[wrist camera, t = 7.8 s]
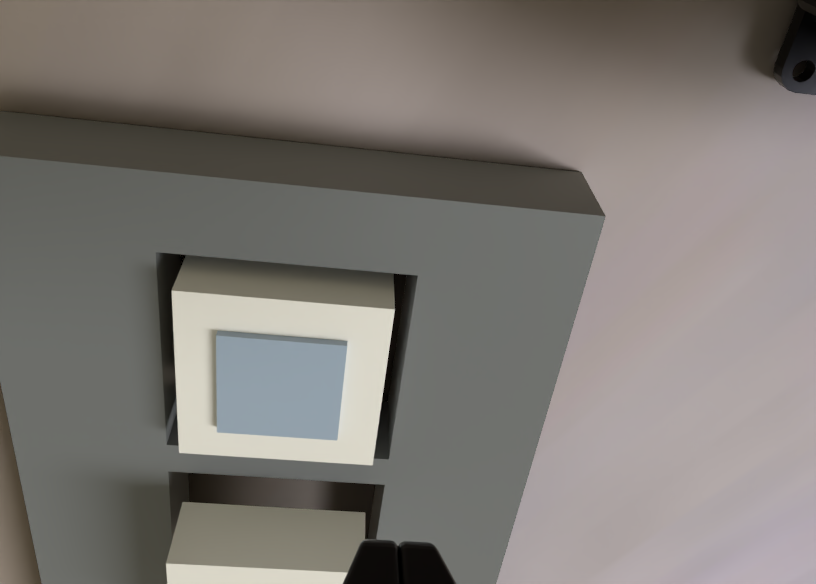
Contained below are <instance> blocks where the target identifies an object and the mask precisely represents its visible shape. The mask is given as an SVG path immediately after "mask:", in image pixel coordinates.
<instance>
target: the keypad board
mask: <svg viewBox="0 0 816 584" xmlns="http://www.w3.org/2000/svg"><path fill="white" fill-rule="evenodd" d="M604 220H605V214H604V213H603V211H602V209H601V207H600V205H599V203H598V202H597V200H596V198H595V196H594V194H593V192H592V191H591V189H590V187H589V185H588V183H587V181H586V180H585V178H584V176H583V174H582V172H575V171H565V170H556V169H546V168H537V167H527V166H518V165H508V164H499V163H489V162H480V161H470V160H461V159H451V158H442V157H433V156H423V155H414V154H404V153H395V152H385V151H376V150H366V149H357V148H347V147H338V146H328V145H319V144H309V143H300V142H290V141H281V140H271V139H262V138H252V137H243V136H233V135H224V134H214V133H205V132H195V131H186V130H176V129H167V128H157V127H148V126H138V125H129V124H119V123H110V122H100V121H91V120H81V119H72V118H62V117H53V116H43V115H34V114H24V113H15V112H5V111H0V383H1V388H2V393H3V398H4V403H5V408H6V412H7V417H8V422H9V427H10V432H11V437H12V442H13V447H14V451H15V456H16V461H17V466H18V471H19V476H20V481H21V486H22V491H23V495H24V500H25V505H26V510H27V515H28V520H29V525H30V530H31V535H32V539H33V544H34V549H35V554H36V559H37V564H38V569H39V574H40V579H41V583H42V584H167V572H166V561H167V558H168V554H169V550H170V547H171V543H172V539H173V536H174V532H175V528H176V524H177V521H178V517H179V513H180V510H181V506H182V502H189V479H188V473H202V474H218V475H234V476H251V477H267V478H283V479H299V480H315V481H331V482H347V483H363V484H375V490H374V497H373V504H372V510H371V517H370V524H369V531H368V537H367V539H376V540H391V541H394V542H395V543H396V544H397V546H398V545H399V543H401V542H403V541H412V542H429V543H432V544H433V545H435V546H436V548H437V549H438V551H439V552H440V554H441V556H442V558H443V560H444V562H445V563H446V565H447V567H448V569H449V571H450V573H451V575H452V576H453V578H454V580H455V582H456V584H496V582H497V579H498V575H499V572H500V568H501V565H502V562H503V558H504V555H505V552H506V548H507V545H508V542H509V538H510V535H511V532H512V528H513V525H514V522H515V518H516V515H517V511H518V508H519V505H520V501H521V498H522V495H523V491H524V488H525V485H526V481H527V478H528V475H529V471H530V468H531V465H532V461H533V458H534V454H535V451H536V448H537V444H538V441H539V438H540V434H541V431H542V428H543V424H544V421H545V418H546V414H547V411H548V408H549V404H550V401H551V398H552V394H553V391H554V387H555V384H556V381H557V377H558V374H559V371H560V367H561V364H562V361H563V357H564V354H565V351H566V347H567V344H568V341H569V337H570V334H571V330H572V327H573V324H574V320H575V317H576V314H577V310H578V307H579V304H580V300H581V297H582V294H583V290H584V287H585V284H586V280H587V277H588V273H589V270H590V267H591V263H592V260H593V257H594V253H595V250H596V247H597V243H598V240H599V237H600V233H601V230H602V227H603V223H604ZM180 254H182V255H193V256H205V257H216V258H227V259H238V260H249V261H260V262H272V263H283V264H294V265H305V266H316V267H327V268H339V269H350V270H361V271H372V272H383V273H394V274H405V275H406V281H405V288H404V295H403V302H402V308H401V315H400V322H399V329H398V335H397V342H396V349H395V355H394V362H393V369H392V376H391V382H390V389H389V396H388V402H385V401H382V403H381V410H380V417H379V424H378V431H377V438H376V445H375V452H374V459H373V465H358V464H343V463H327V462H312V461H296V460H281V459H265V458H250V457H234V456H219V455H203V454H188V453H179V442H178V420H177V398H176V377H175V355H174V333H173V311H172V288H173V286H174V283H175V281H176V278H177V276H178V273H179V271H180V269H181V266H180Z"/></svg>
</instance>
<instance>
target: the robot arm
mask: <svg viewBox="0 0 816 584" xmlns="http://www.w3.org/2000/svg"><path fill="white" fill-rule="evenodd" d="M797 1H798V6H797V8H796V11H795V13H794V16H793V19H792V21H791V24H790V26H789V29H788V32H787V34H786V37H785V39H784V42H783V45H782V47H781V50H780V52H779V55H778V58H777V60H776V63H775V67H774V76H775V79H776V80H777V82H778V83H779V84H780V85H782V86H783V87H784V88H786V89H787V90H789V91H792V92H795V93H803V94H811V95H816V0H797ZM803 60H806V61H807V64H806V68H805V70H804V71H803V72H802V73H801V74H799V75H798V76H794V77H792V73H793V69H794V67H795V66H796V64H798V63H799V62H801V61H803ZM343 584H456V582H455V580H454V578H453V576H452V575H451V573H450V571H449V569H448V567H447V565H446V563H445V562H444V560H443V558H442V556H441V554H440V552H439V551H438V549H437V548H436V546H435V545H433V544H432V543H429V542H412V541H403V542H401V543H399V545H398V546H397V544H396V543H395V542H394V541H391V540H376V539H365V540H363V541H362V542H361V543H360V545H359V547H358V549H357V552H356V554H355V556H354V559H353V561H352V563H351V566H350V568H349V570H348V573H347V575H346V577H345V579H344V582H343Z"/></svg>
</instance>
